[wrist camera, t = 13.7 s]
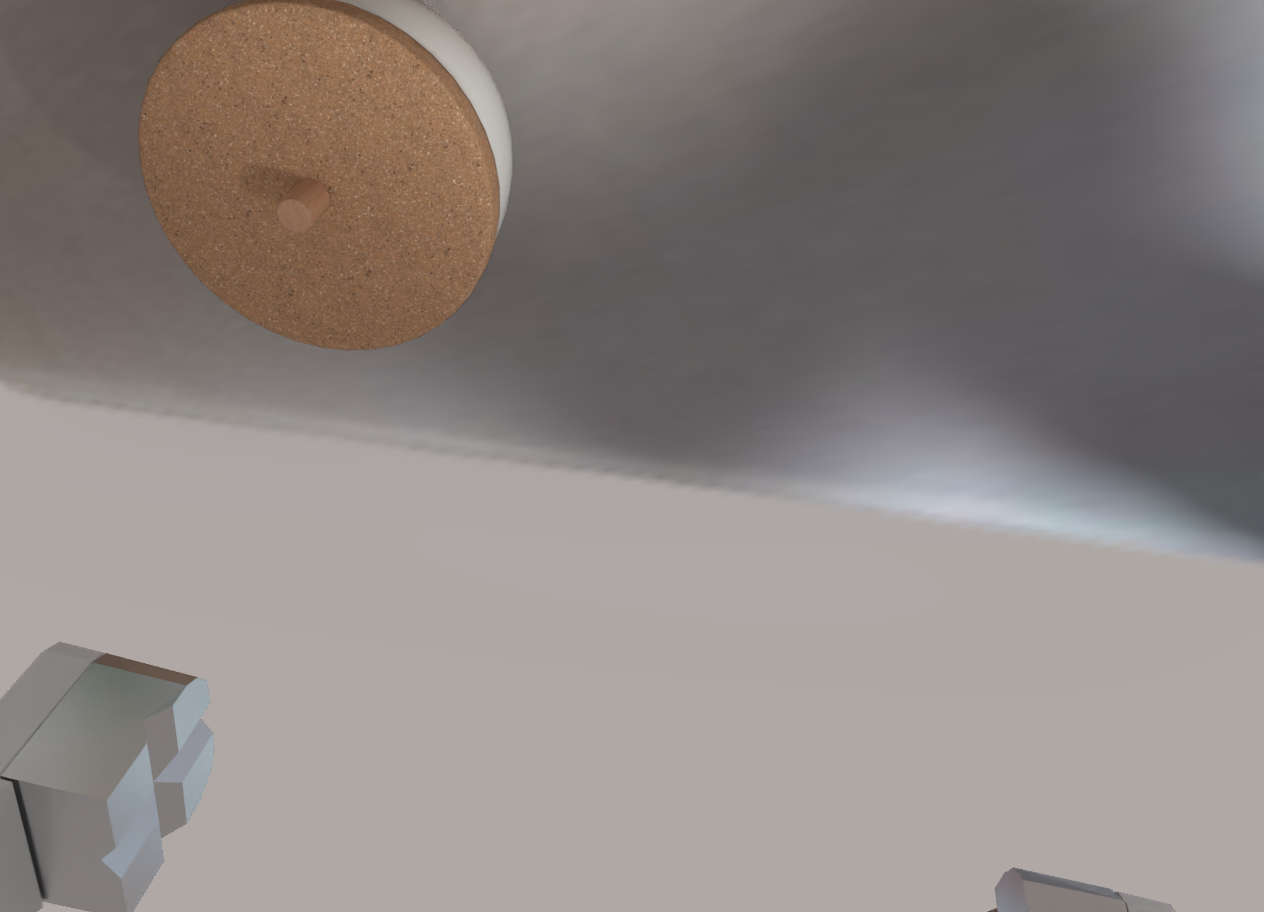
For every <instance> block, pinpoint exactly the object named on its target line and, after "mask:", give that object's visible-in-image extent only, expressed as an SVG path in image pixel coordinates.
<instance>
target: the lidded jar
mask: <svg viewBox="0 0 1264 912" xmlns="http://www.w3.org/2000/svg"><path fill="white" fill-rule="evenodd" d="M138 134H139V152H140V163H141V167H142V172H143V177H144V182H145V186H146V190H147V192H148V195H149V198H150V200H151V203H152V206H153V209H154V211H155V214H156V216H157V218H158V220H159V222H160V224H161V226H162V228H163V230H164V232H165V234H166V236H167V238H168V240H169V241H170V242H171V244H172V245H173V247H174V248H175V249H176V251H177V252H178V254H179V255H180V256H181V258H182V259H183V261H184V262H185V263H186V264H187V266H188V267H189V268H190V269H191V270H192V271H193V273H194V274H195V275H196V276H197V277H198V278H199V279H200V281H201V282H202V283H203V284H204V285H205V286H206V287H207V288H209V289H210V290H211V291H212V292H213V293H214V294H216V295H217V296H218V297H219V298H220V299H221V300H222V301H224V302H225V303H226V304H228V305H229V306H230V307H232V308H233V309H235V310H236V311H237V312H239V313H240V314H242V315H243V316H244V317H246V318H247V319H249V320H251V321H253V322H255V323H257V324H259V325H261V326H262V327H264V328H266V329H268V330H270V331H272V332H275V333H277V334H280V335H282V336H285V337H287V338H290V339H292V340H295V341H298V342H302V343H306V344H310V345H315V346H319V347H323V348H332V349H341V350H373V349H378V348H384V347H389V346H395V345H398V344H401V343H404V342H407V341H410V340H412V339H415V338H418V337H420V336H422V335H423V334H425V333H427V332H429V331H431V330H432V329H434V328H436V327H438V326H439V325H440V324H442V323H443V322H444V321H445V320H446V319H448V318H449V317H450V316H451V315H452V314H454V313H455V312H456V311H457V310H458V309H459V307H460V306H461V305H462V304H463V303H464V302H465V300H466V299H467V298H468V297H469V296H470V294H471V293H472V291H473V290H474V288H475V286H476V284H477V282H478V281H479V279H480V277H481V275H482V273H483V272H484V270H485V268H486V266H487V264H488V261H489V258H490V255H491V252H492V249H493V246H494V243H495V240H496V238H497V236H498V233H499V230H500V227H501V224H502V221H503V219H504V216H505V213H506V209H507V204H508V200H509V194H510V187H511V181H512V140H511V134H510V128H509V122H508V117H507V114H506V111H505V108H504V105H503V102H502V98H501V95H500V93H499V91H498V89H497V87H496V85H495V83H494V81H493V79H492V77H491V75H490V73H489V71H488V70H487V68H486V67H485V65H484V64H483V62H482V61H481V59H480V58H479V56H478V55H477V53H476V52H475V50H474V49H473V48H472V47H471V46H470V45H469V44H468V43H467V41H466V40H465V39H464V38H463V37H462V36H461V35H460V34H459V33H458V31H457V30H455V29H454V28H453V27H452V26H451V25H449V24H448V23H447V22H446V21H445V20H443V19H442V18H441V17H440V16H439V15H438V14H436V13H435V12H433V11H431V10H430V9H428V8H427V7H425V6H423V5H422V4H420V3H419V2H417V1H415V0H245V1H241V2H237V3H234V4H231V5H229V6H227V7H225V8H223V9H221V10H219V11H217V12H215V13H213V14H211V15H209V16H207V17H205V18H204V19H202V20H200V21H199V22H197V23H196V24H195V25H194V26H192V27H191V28H190V29H189V30H187V31H186V32H185V33H183V34H182V35H181V36H180V37H178V38H177V40H176V41H175V42H174V43H173V44H172V46H171V47H170V48H169V49H168V50H167V52H166V53H165V54H164V55H163V57H162V58H161V59H160V61H159V63H158V65H157V67H156V69H155V71H154V73H153V74H152V76H151V78H150V80H149V83H148V86H147V89H146V93H145V96H144V99H143V103H142V106H141V114H140V123H139V132H138Z"/></svg>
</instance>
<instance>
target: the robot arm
mask: <svg viewBox="0 0 1264 912" xmlns="http://www.w3.org/2000/svg"><path fill="white" fill-rule="evenodd" d="M209 704H210V698H209V691H208V684H207V680H204V679H201V678H198V677H194V676H191V675H187V674H183V673H179V672H175V671H171V670H168V669H164V668H160V667H156V666H152V665H149V664H145V663H141V662H138V661H133V660H130V659H126V658H122V657H119V656H115V655H111V654H107V653H103V652H99V651H95V650H90V649H86V648H82V647H78V646H74V645H70V644H66V643H62V642H58V643H57V644H55V645H53V646H51V647H50V648H48V649H46V650H44V651H43V652H42V653H41V654H40V655H39V656H38V657H37V658H36V659H35V661H34V662H33V663H32V664H31V665H30V666H29V667H28V668H27V669H26V671H25V672H24V673H23V674H22V675H21V676H20V678H19V679H18V680H17V681H16V682H15V683H14V684H13V685H12V687H11V688H10V689H9V690H8V691H7V692H6V693H5V695H4V696H3V697H2V698H1V699H0V912H37V911H38V910H40V909H41V908H42V907H43V901H44V902H49V903H53V904H58V905H62V906H67V907H71V908H76V909H81V910H85V911H90V912H133V911H134V910H135V908H136V907H137V905H138V903H139V901H140V900H141V898H142V897H143V895H144V893H145V892H146V890H147V888H148V887H149V885H150V884H151V882H152V880H153V879H154V877H155V875H156V874H157V872H158V870H159V869H160V867H161V865H162V864H163V862H164V858H163V850H162V842H161V838H163V837H164V836H166V835H168V834H169V833H171V832H173V831H175V830H176V829H178V828H180V827H182V826H183V825H185V824H187V822H188V821H189V819H190V817H191V815H192V814H193V812H194V810H195V808H196V806H197V805H198V803H199V801H200V800H201V797H202V794H203V792H204V789H205V786H206V784H207V781H208V778H209V775H210V773H211V769H212V762H213V755H214V739H213V733H212V731H211V730H210V729H209V728H208V727H207V725H206V724H205V723H204V722H203V721H202V719H201V717H202V715H203V714H204V712H205V710H206V709H207V707H208V706H209ZM995 893H996V902H997V908H996V909H993V910H991V911H988V912H1176V911H1175V910H1174V909H1173V907H1172V906H1171V905H1170V904H1167V903H1163V902H1159V901H1155V900H1150V899H1146V898H1142V897H1137V896H1134V895H1129V894H1125V893H1121V892H1113V890H1111V889H1109V888H1104V887H1100V886H1095V885H1090V884H1086V883H1081V882H1077V881H1072V880H1068V879H1063V878H1059V877H1054V876H1050V875H1045V874H1040V873H1036V872H1032V871H1027V870H1023V869H1018V868H1012V869H1010V870H1009V871H1007V872H1005V873H1004V874H1003V876H1002V877H1001V879H1000V881H999V883H998V884H997V886H996V887H995Z"/></svg>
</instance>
